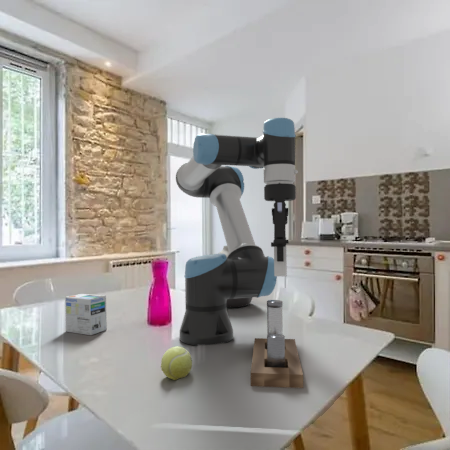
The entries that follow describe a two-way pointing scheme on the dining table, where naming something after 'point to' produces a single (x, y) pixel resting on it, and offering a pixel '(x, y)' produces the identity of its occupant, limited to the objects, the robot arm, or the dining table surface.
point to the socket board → (276, 376)
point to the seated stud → (276, 350)
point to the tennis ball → (176, 363)
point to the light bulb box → (86, 314)
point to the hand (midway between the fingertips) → (280, 272)
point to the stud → (274, 317)
